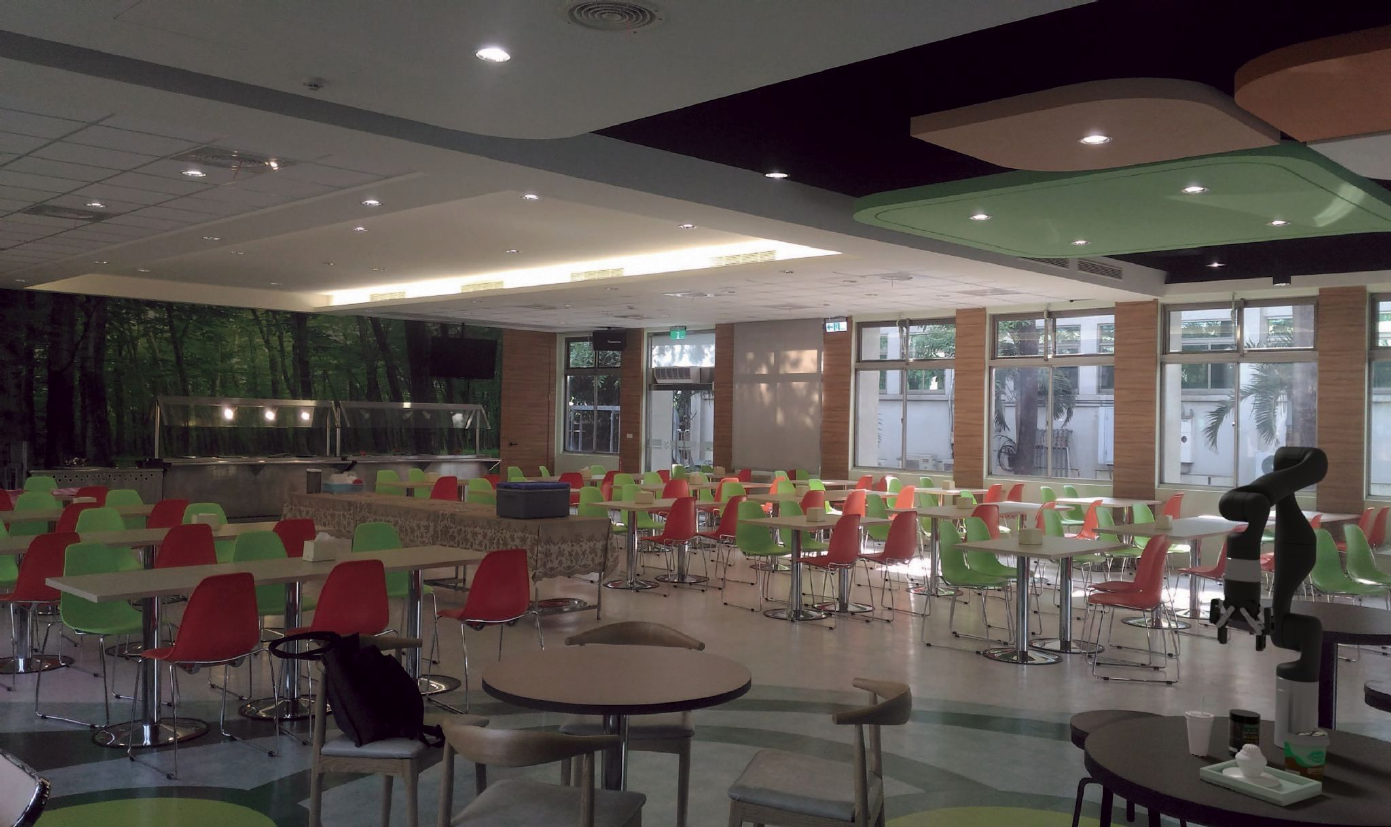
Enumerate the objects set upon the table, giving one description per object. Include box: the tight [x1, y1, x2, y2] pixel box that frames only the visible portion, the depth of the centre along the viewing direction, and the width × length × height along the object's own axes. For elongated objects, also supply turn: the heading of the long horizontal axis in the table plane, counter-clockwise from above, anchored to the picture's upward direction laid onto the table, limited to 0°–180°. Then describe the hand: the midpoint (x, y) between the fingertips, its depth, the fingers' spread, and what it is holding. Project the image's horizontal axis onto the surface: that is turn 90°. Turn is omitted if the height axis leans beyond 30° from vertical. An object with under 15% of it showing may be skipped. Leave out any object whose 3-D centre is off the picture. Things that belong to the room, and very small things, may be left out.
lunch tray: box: [1199, 758, 1323, 807], centre depth 222 cm, size 16×18×2 cm
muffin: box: [1234, 744, 1268, 778], centre depth 224 cm, size 6×6×7 cm
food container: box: [1282, 727, 1331, 781], centre depth 230 cm, size 12×6×10 cm, turn 117°
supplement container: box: [1227, 708, 1262, 758], centre depth 244 cm, size 7×7×10 cm
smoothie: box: [1184, 695, 1215, 757], centre depth 244 cm, size 6×6×14 cm
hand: (1240, 647), depth 236 cm, fingers open, 8 cm apart
